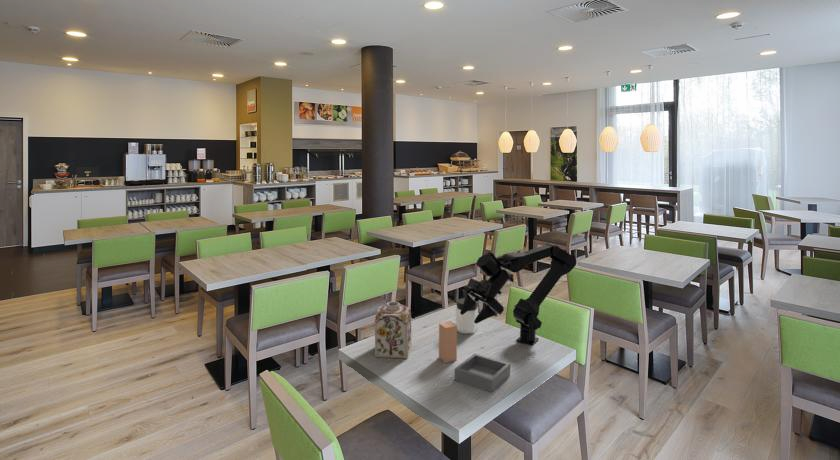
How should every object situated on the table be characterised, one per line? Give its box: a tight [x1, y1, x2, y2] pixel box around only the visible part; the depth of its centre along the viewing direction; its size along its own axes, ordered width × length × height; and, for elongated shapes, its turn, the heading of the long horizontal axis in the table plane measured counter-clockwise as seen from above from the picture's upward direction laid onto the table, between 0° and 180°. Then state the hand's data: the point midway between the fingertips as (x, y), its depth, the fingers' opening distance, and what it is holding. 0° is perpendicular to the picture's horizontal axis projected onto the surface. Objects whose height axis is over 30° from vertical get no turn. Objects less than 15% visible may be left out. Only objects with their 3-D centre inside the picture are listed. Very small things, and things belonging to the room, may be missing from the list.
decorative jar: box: [374, 301, 412, 360], centre depth 164 cm, size 12×12×18 cm
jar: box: [455, 297, 479, 335], centre depth 184 cm, size 9×8×12 cm
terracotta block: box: [438, 320, 458, 363], centre depth 159 cm, size 4×4×12 cm
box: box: [454, 353, 511, 393], centre depth 147 cm, size 13×13×4 cm
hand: (467, 318), depth 161 cm, fingers open, 9 cm apart
